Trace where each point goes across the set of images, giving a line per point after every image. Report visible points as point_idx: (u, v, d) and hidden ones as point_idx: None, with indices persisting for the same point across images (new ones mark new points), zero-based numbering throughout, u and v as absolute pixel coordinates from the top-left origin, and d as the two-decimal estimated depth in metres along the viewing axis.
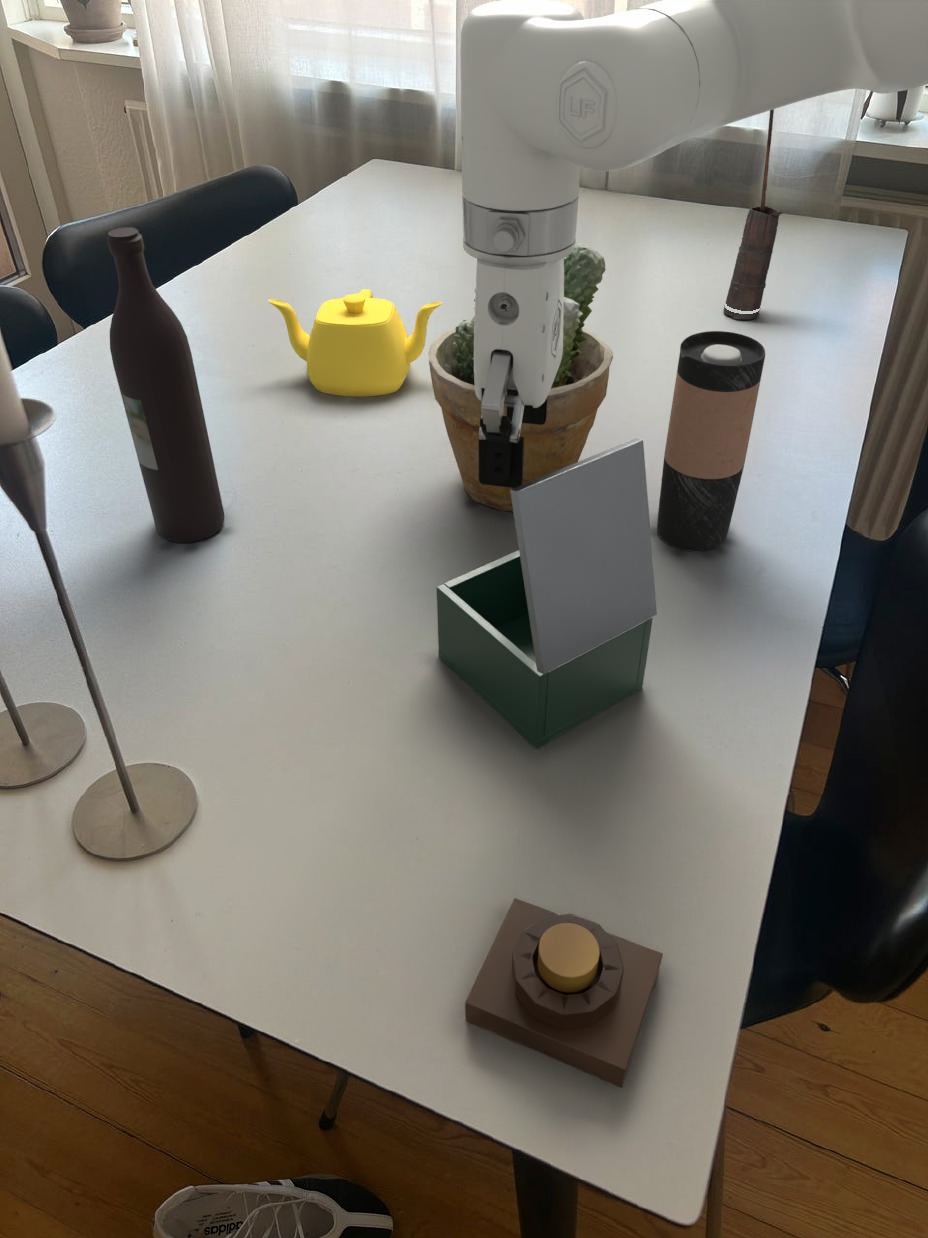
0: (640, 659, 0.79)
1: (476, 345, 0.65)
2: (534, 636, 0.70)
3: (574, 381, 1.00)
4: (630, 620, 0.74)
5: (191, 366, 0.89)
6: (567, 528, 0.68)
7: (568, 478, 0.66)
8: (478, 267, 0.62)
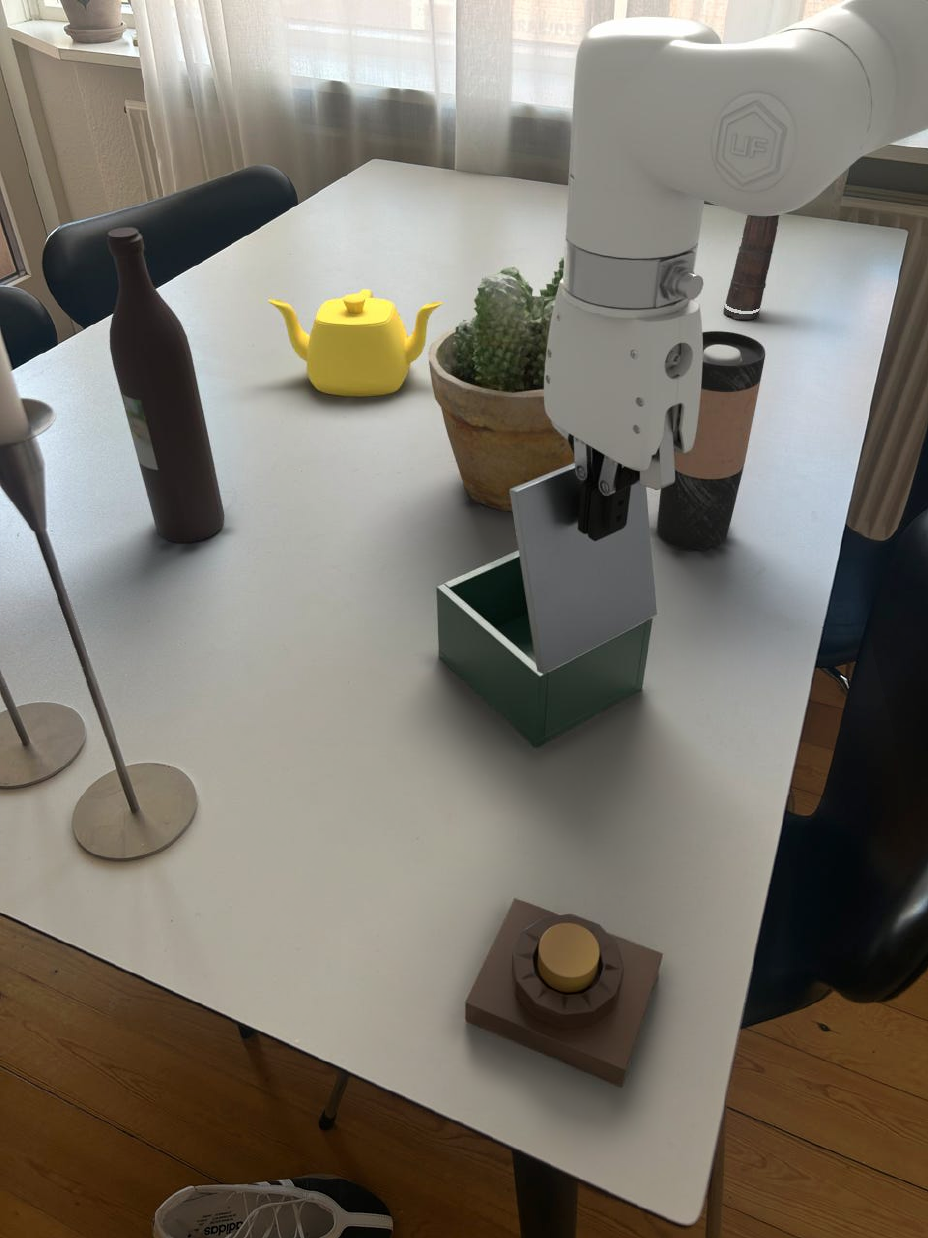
0: (640, 659, 0.79)
1: (650, 411, 0.57)
2: (534, 636, 0.70)
3: None
4: (630, 620, 0.74)
5: (191, 366, 0.89)
6: (566, 528, 0.68)
7: (567, 478, 0.67)
8: (648, 326, 0.54)
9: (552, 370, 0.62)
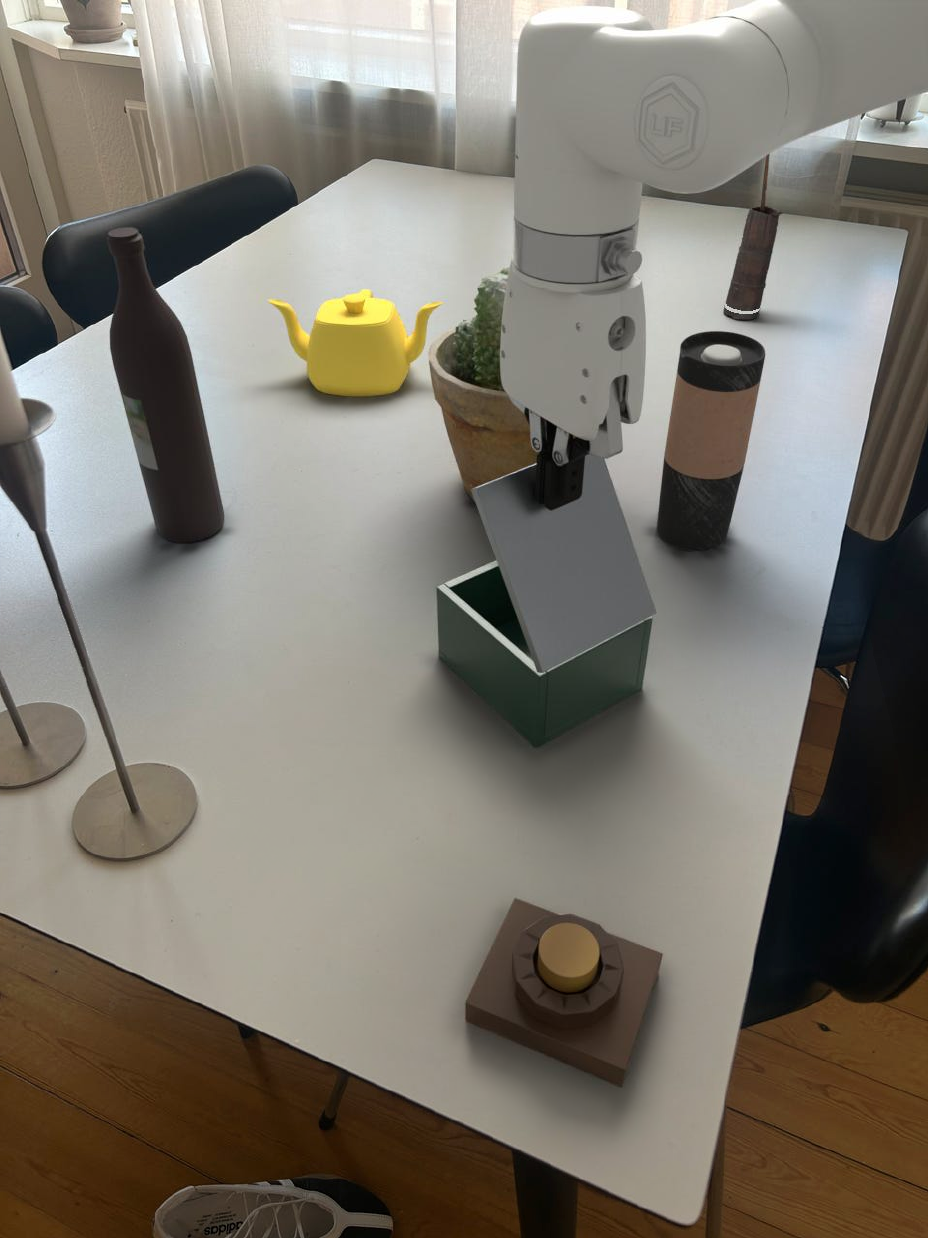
0: (640, 659, 0.79)
1: (595, 382, 0.60)
2: (525, 634, 0.71)
3: None
4: (627, 618, 0.75)
5: (191, 366, 0.89)
6: (536, 523, 0.71)
7: (527, 475, 0.71)
8: (591, 300, 0.57)
9: (506, 345, 0.65)
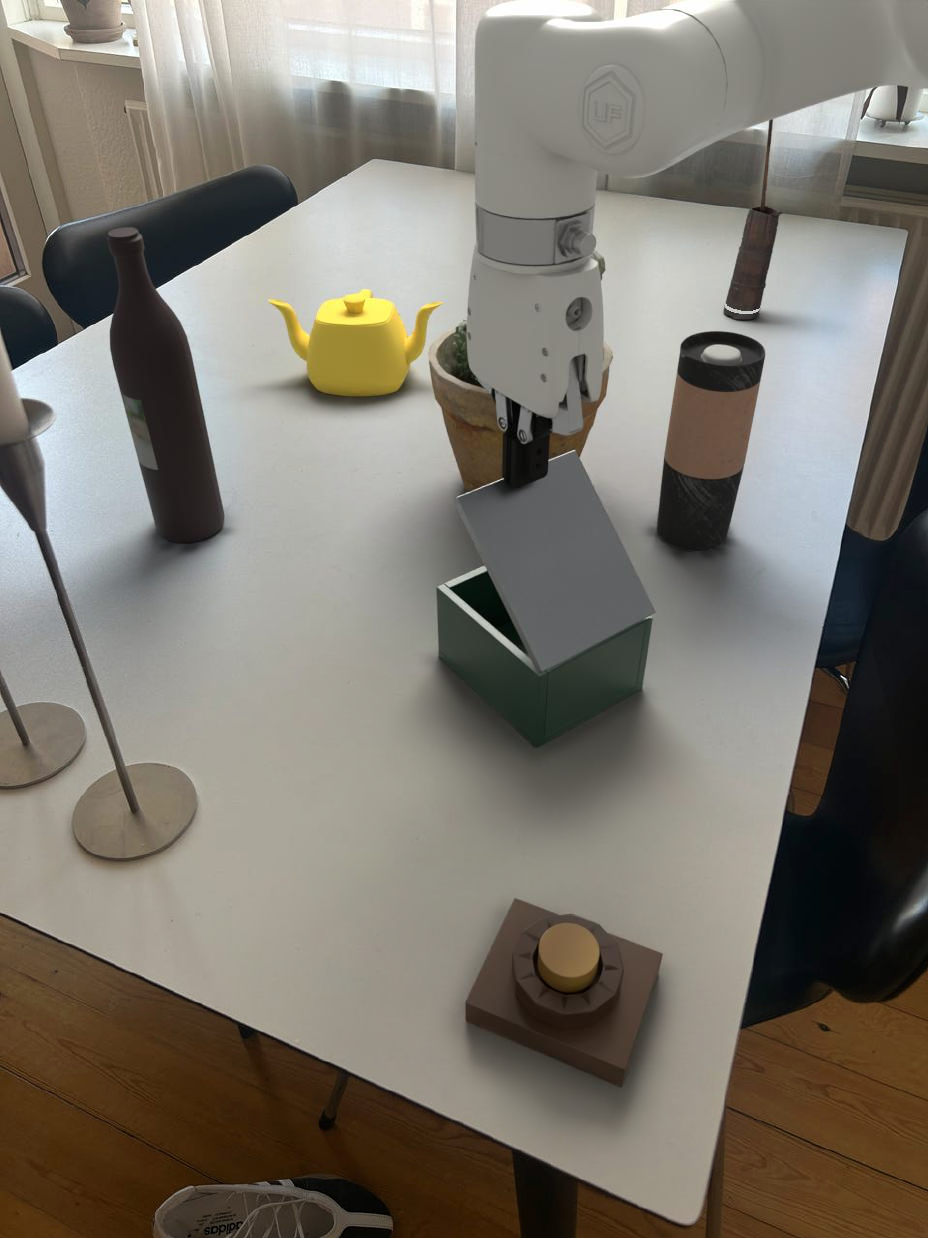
0: (640, 659, 0.79)
1: (554, 361, 0.62)
2: (521, 635, 0.71)
3: None
4: (626, 617, 0.75)
5: (191, 366, 0.89)
6: (521, 528, 0.73)
7: (507, 484, 0.73)
8: (548, 281, 0.59)
9: (472, 327, 0.67)
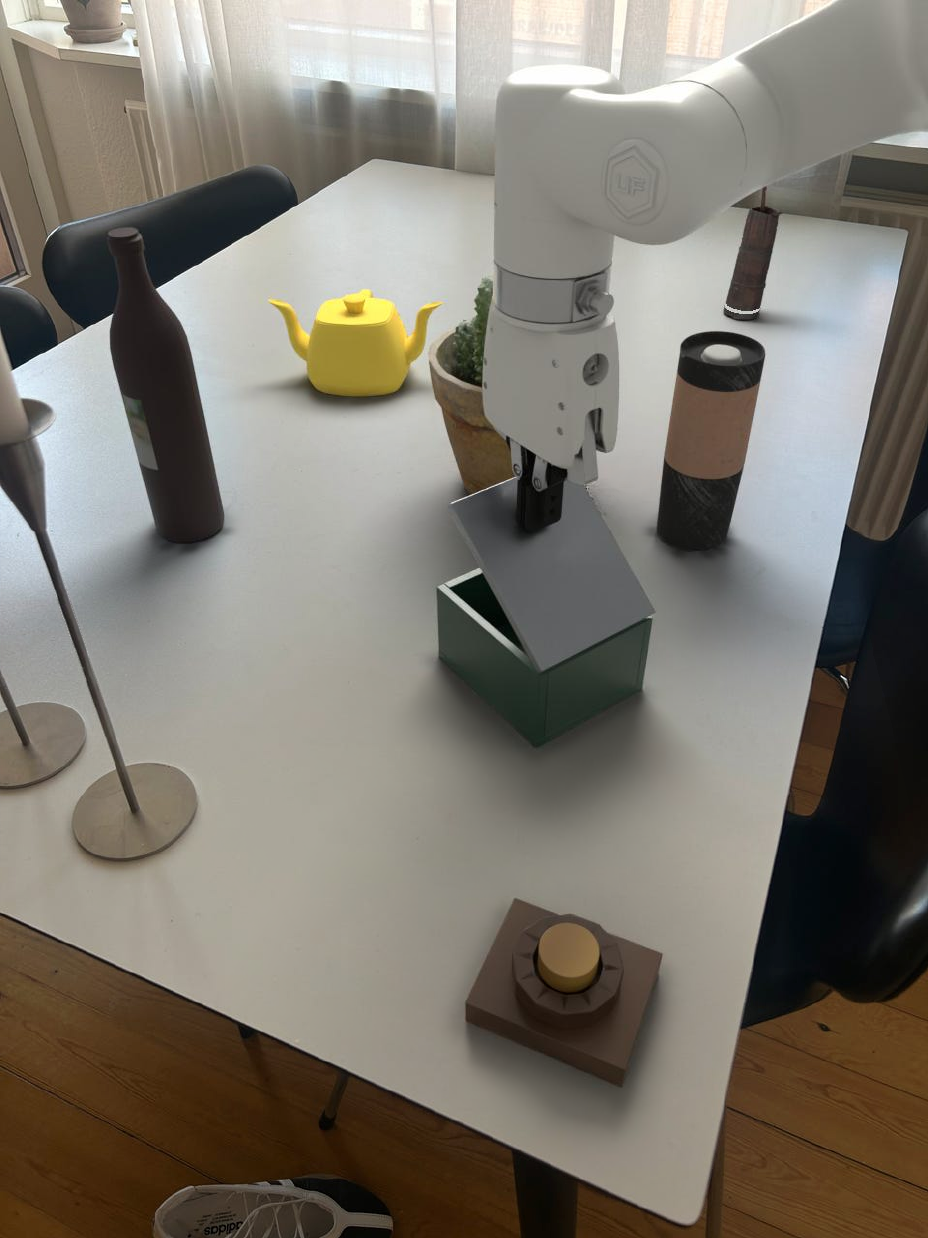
0: (640, 659, 0.79)
1: (571, 415, 0.63)
2: (519, 636, 0.72)
3: None
4: (625, 617, 0.75)
5: (191, 366, 0.89)
6: (515, 532, 0.74)
7: (500, 490, 0.74)
8: (565, 339, 0.60)
9: (488, 377, 0.68)
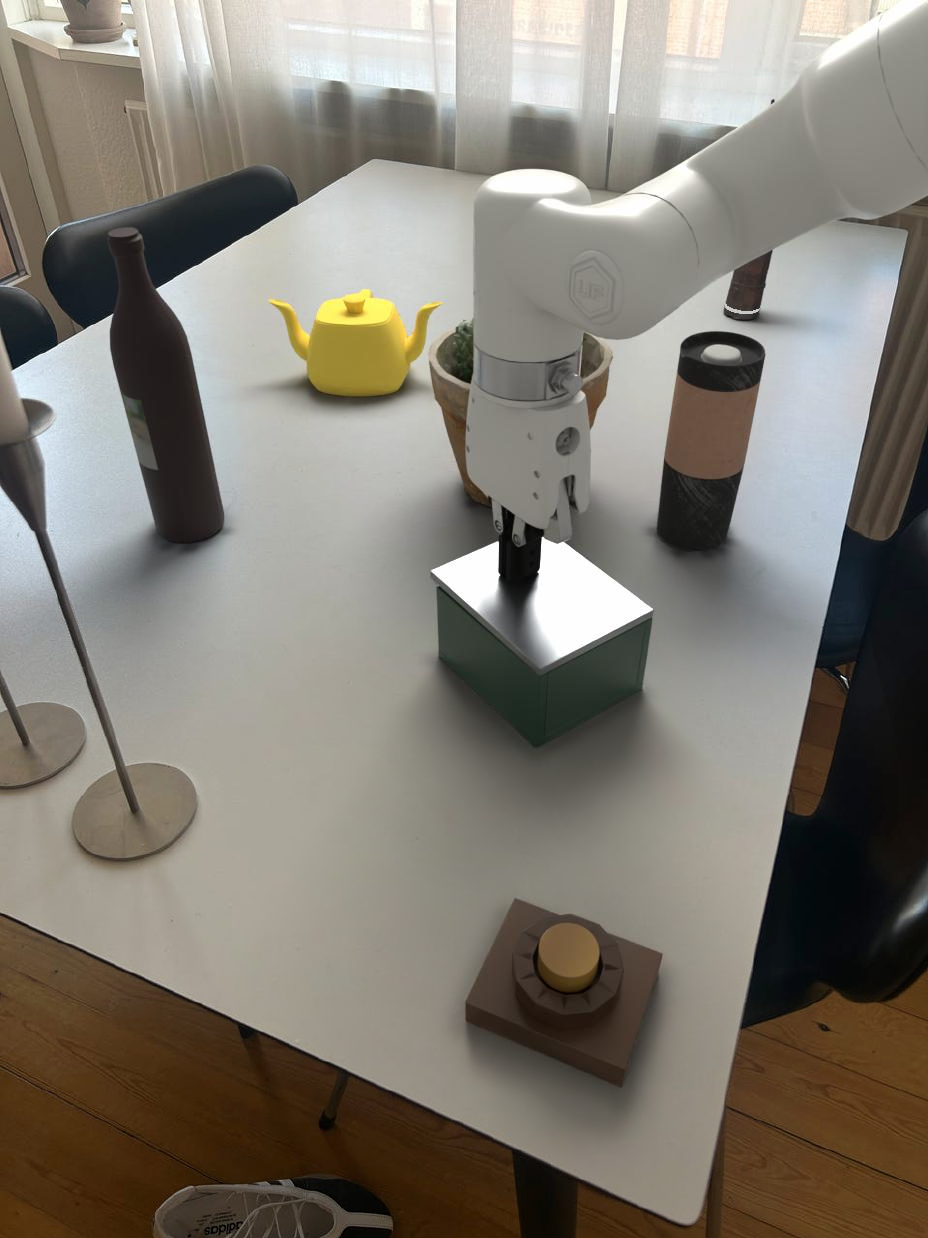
0: (640, 659, 0.79)
1: (545, 482, 0.68)
2: (513, 650, 0.73)
3: None
4: (621, 618, 0.75)
5: (191, 366, 0.89)
6: (496, 578, 0.79)
7: (477, 554, 0.81)
8: (539, 415, 0.65)
9: (471, 442, 0.73)
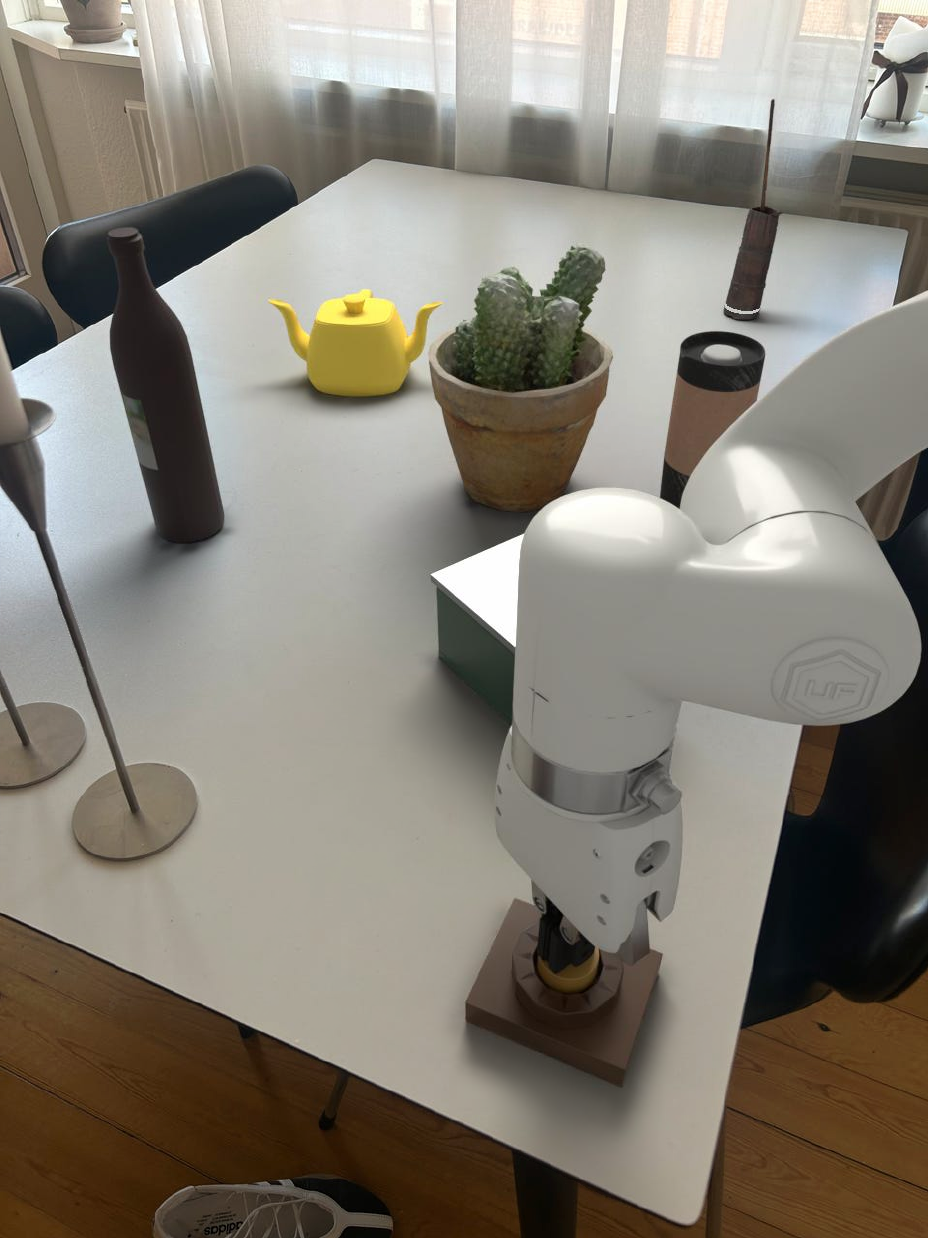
0: None
1: (617, 910, 0.46)
2: (513, 650, 0.73)
3: (574, 381, 1.00)
4: None
5: (191, 366, 0.89)
6: (496, 581, 0.79)
7: (477, 558, 0.82)
8: (613, 834, 0.43)
9: (503, 808, 0.51)
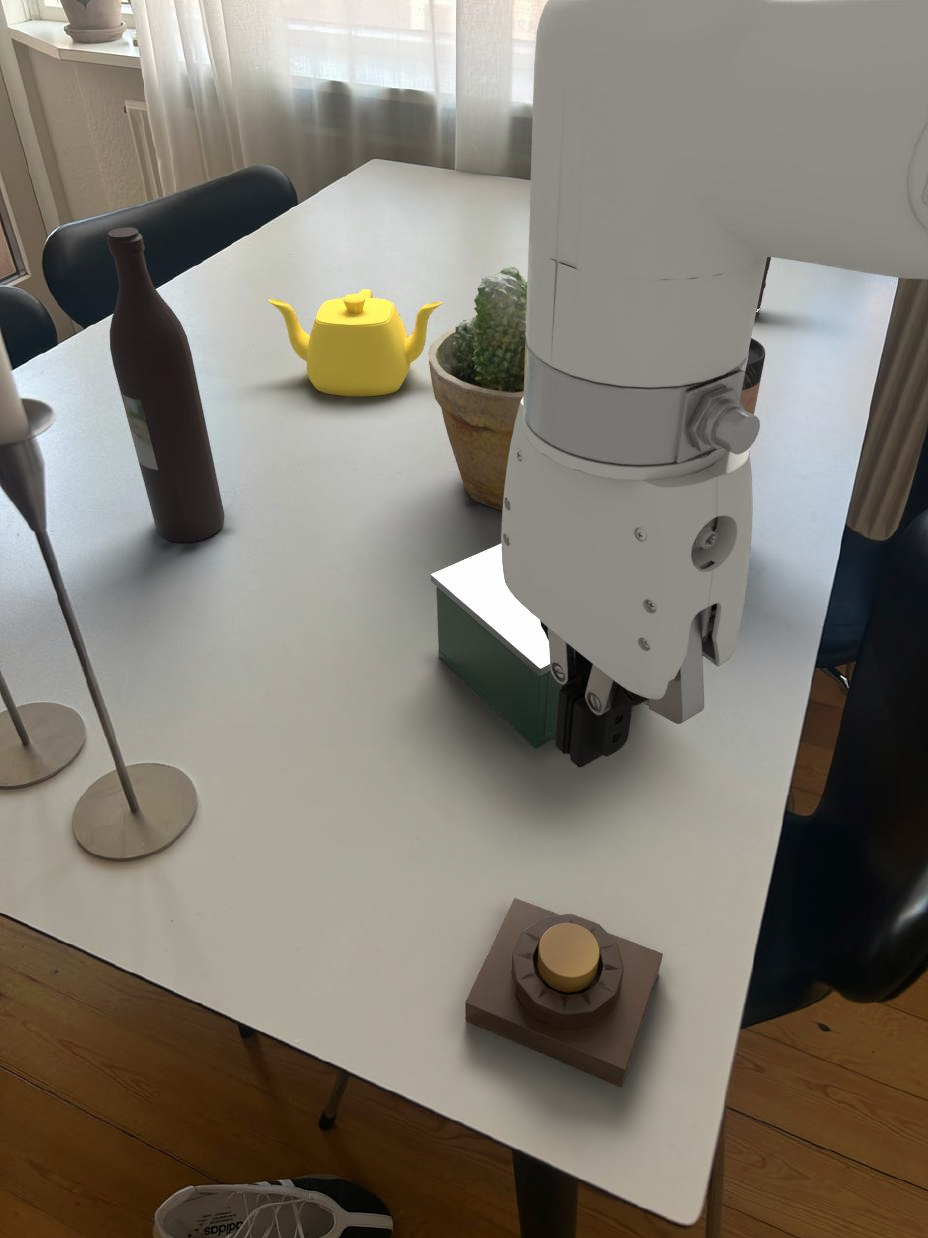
0: None
1: (666, 622, 0.34)
2: (513, 650, 0.73)
3: None
4: None
5: (191, 366, 0.89)
6: (496, 581, 0.79)
7: (477, 558, 0.82)
8: (664, 495, 0.32)
9: (512, 529, 0.40)
